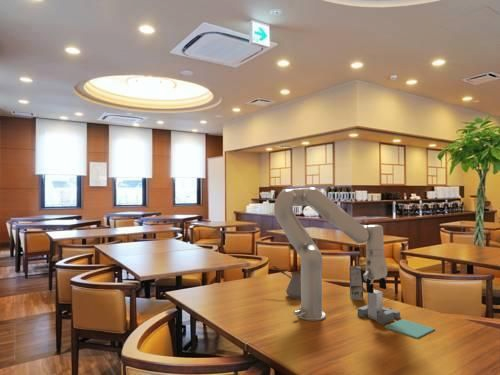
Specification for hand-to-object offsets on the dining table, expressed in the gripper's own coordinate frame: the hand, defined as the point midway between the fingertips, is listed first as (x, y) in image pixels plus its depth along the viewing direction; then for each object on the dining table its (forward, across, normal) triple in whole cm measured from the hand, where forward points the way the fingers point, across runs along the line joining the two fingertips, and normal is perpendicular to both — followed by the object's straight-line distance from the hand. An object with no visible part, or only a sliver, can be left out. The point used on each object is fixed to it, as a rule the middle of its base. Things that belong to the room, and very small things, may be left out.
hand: (376, 290), depth 159 cm
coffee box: (+12, +18, +25) cm, 33 cm away
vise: (+12, +3, +1) cm, 13 cm away
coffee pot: (+11, -8, +50) cm, 52 cm away
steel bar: (+12, -1, +1) cm, 12 cm away
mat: (+13, -1, -15) cm, 20 cm away
